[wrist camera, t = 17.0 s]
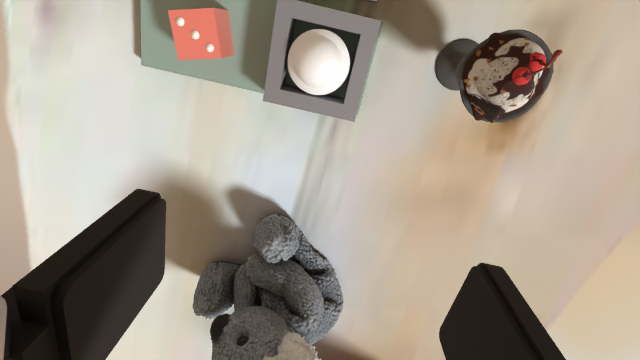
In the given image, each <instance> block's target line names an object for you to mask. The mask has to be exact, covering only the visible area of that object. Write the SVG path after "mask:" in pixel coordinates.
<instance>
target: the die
mask: <svg viewBox="0 0 640 360" xmlns="http://www.w3.org/2000/svg"><path fill="white" fill-rule="evenodd" d="M168 14H169V19H170V23H171V28H172V33H173V38H174V42H175V47H176V52H177V56H178V60H193V59H214V58H224V57H229V56H233V55H235V54H234V47H233V40H232V34H231V27H230V20H229V13H228V10H223V9H218V8H201V9H184V10H168Z"/></svg>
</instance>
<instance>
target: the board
mask: <svg viewBox="0 0 640 360" xmlns="http://www.w3.org/2000/svg"><path fill="white" fill-rule="evenodd" d="M140 6H141V65H143V66H147V67H151V68H156V69H160V70H164V71H169V72H173V73H177V74H182V75H186V76H191V77H195V78H199V79H204V80H208V81H212V82H217V83H221V84H225V85H230V86H234V87H238V88H243V89H247V90H251V91H256V92H260V93H264V97H263V101H266V102H270V103H275V104H279V105H283V106H288V107H292V108H296V109H301V110H305V111H310V112H314V113H318V114H323V115H327V116H331V117H336V118H340V119H345V120H349V121H353V122H354V121H355V117H356V115H358V112H359V108H360V105H361V101H362V97H363V93H364V90H365V86H366V82H367V78H368V75H369V71H370V67H371V64H372V60H373V56H374V52H375V49H376V45H377V41H378V37H379V34H380V30H381V26H382V23H381V21H380V20H376V19H372V18H368V17H364V16H360V15H356V14H351V13H347V12H343V11H339V10H335V9H331V8H327V7H322V6H318V5H314V4H310V3H306V2H302V1H298V0H140ZM201 8H218V9H223V10H228V13H229V20H230V27H231V34H232V40H233V47H234V54H235V55H233V56H229V57H224V58H214V59H193V60H178V56H177V52H176V47H175V42H174V38H173V33H172V28H171V23H170V19H169V14H168V10H184V9H201ZM313 29H324V30H329V31H331V32H333V33H335V34H336V35H338V36H339V37H340V38H341V39H342V40H343V42H344V43H345V45H346V47H347V50H348V53H349V57H350V67H349V72H348V75H347V77H346V79H345V81H344V82H343V83H342V85H341V86H340V87H339V88H337V89H336V90H335V91H333V92H331V93H328V94H325V95H313V94H309V93H307V92H305V91H303V90H301V89H300V88H299V87H298V86H297V85H296V84H295V83H294V81H293V80H292V78H291V76H290V73H289V70H288V54H289V50H290V48H291V46H292V44H293V42H294V41H295V40H296V39H297V38H298V37H299V36H300V35H301V34H303V33H305V32H307V31H309V30H313Z"/></svg>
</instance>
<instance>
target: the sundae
mask: <svg viewBox="0 0 640 360" xmlns="http://www.w3.org/2000/svg"><path fill="white" fill-rule="evenodd" d="M561 53H562V50H556V51H555V52H554V53H553V55H552V53H551V52H550V50H549V48H548V46H547V45H546V44H545V42H544V41H543V40H542V39H541V38H539V37H538V36H537V35H535V34H533V33H531V32H529V31H526V30H508V31H504V32H501V33H493V34H491V35H490V36H489V38H488V39H486V40H485V41H483V42H482V43H480V44H478V43H476V42H474V41H472V40H467V39H462V40H458V41H455V42H453V43H451V44H449V45H448V46H447V47H446V48H445V49H444V50H443V51H442V52H441V54H440V55H439V57H438V59H437V64H436V75H437V78H438V80H439V81H440V83H441V84H442V85H443V86H444V87H446V88H448V89H450V90H460V94H461V98H462V102H463V104H464V106H465V107H466V109H467V110H468V112H469V113H470V114H471V115H473V116H474V118H475V120H483V121H486V122H491V123H493V122H506V121H510V120H513V119H516V118H518V117H520V116H522V115H523V114H525V113H526V112H528V111H529V110H530V109H531V108H532V107H533V106H534V105H535V104H536V103H537V101H538V100H539V99H540V97H541V96H542V95H543V93H544V92H545V90H546V89H547V87H548V85H549V83H550V80H551V77H552V74H553V62H555V60H556V58H557V57H558V56H559V55H560V54H561Z"/></svg>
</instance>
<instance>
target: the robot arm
mask: <svg viewBox="0 0 640 360" xmlns="http://www.w3.org/2000/svg"><path fill="white" fill-rule="evenodd" d="M165 222H166V202H165V200H164V199H161V196H160V194H159V193H156V192H151V191H147V190H142V189H137V190H135V191H134V192H132V193H131V194H130V195H128V196H127V197H126V198H125V199H123V200H122V201H121V202H119V203H118V204H117V205H116V206H114V207H113V208H112V209H111V210H109V211H108V212H107V213H105V214H104V215H103V216H102V217H100V218H99V219H98V220H96V221H95V222H94V223H93V224H91V225H90V226H89V227H87V228H86V229H85V230H84V231H82V232H81V233H80V234H78V235H77V236H76V237H75V238H73V239H72V240H71V241H69V242H68V243H67V244H66V245H64V246H63V247H62V248H60V249H59V250H58V251H57V252H55V253H54V254H53V255H51V256H50V257H49V258H48V259H46V260H45V261H44V262H43V263H41V264H40V265H39V266H37V267H36V268H35V269H34V270H32V271H31V272H30V273H28V274H27V275H26V276H25V277H24V278H22V279H21V280H19V281H18V282H17V283H16V284H14V285H13V287H12V288H10V289H9V290H8V291H6V292H5V293H4V294H3V295H1V296H0V360H105V359H106V358H107V357H108V355H109V354H110V352H111V351H112V350H113V348H114V347H115V345H116V344H117V343H118V341H119V340H120V338H121V337H122V336H123V334H124V333H125V331H126V330H127V329H128V327H129V326H130V324H131V323H132V322H133V320H134V319H135V317H136V316H137V315H138V313H139V312H140V310H141V309H142V308H143V306H144V305H145V303H146V302H147V301H148V299H149V298H150V296H151V295H152V294H153V292H154V291H155V289H156V288H157V287H158V285H159V284H160V282H161V280H162V278H163V275H164V270H165ZM439 338H440V342H441V345H442V348H443V352H444V355H445V358H446V360H566V359H565V358H564V357H563V355H562V353H561V352H560V350H559V349H558V347H557V346H556V345H555V343H554V342H553V340H552V339H551V337H550V336H549V334H548V333H547V331H546V330H545V328H544V327H543V326H542V324H541V323H540V321H539V320H538V318H537V317H536V315H535V314H534V312H533V311H532V309H531V308H530V307H529V305H528V304H527V302H526V301H525V299H524V298H523V296H522V295H521V293H520V292H519V291H518V289H517V288H516V286H515V285H514V283H513V282H512V280H511V279H510V277H509V276H508V274H507V273H506V272H505V270H504V269H503V268H502V267H499V266H495V265H490V264H486V263H480V264H479V265H477V266H474V267H472V268H471V270H470V272H469V274H468V276H467V278H466V280H465V281H464V283H463V285H462V287H461V289H460V291H459V293H458V295H457V297H456V299H455V301H454V303H453V305H452V306H451V308H450V310H449V312H448V314H447V316H446V318H445V320H444V322H443V324H442V326H441V328H440V332H439Z"/></svg>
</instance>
